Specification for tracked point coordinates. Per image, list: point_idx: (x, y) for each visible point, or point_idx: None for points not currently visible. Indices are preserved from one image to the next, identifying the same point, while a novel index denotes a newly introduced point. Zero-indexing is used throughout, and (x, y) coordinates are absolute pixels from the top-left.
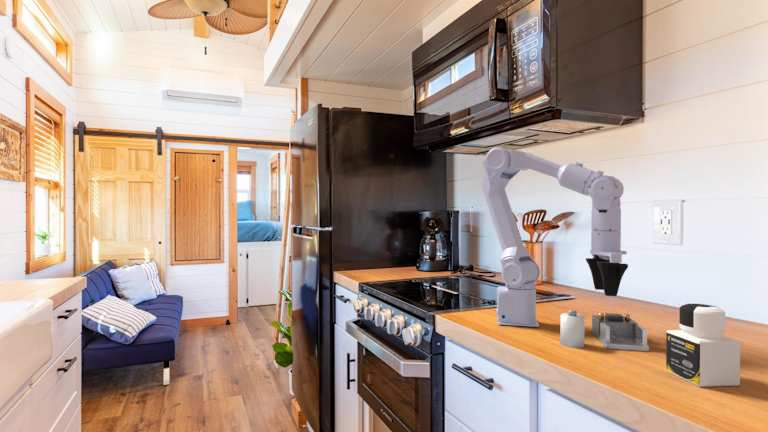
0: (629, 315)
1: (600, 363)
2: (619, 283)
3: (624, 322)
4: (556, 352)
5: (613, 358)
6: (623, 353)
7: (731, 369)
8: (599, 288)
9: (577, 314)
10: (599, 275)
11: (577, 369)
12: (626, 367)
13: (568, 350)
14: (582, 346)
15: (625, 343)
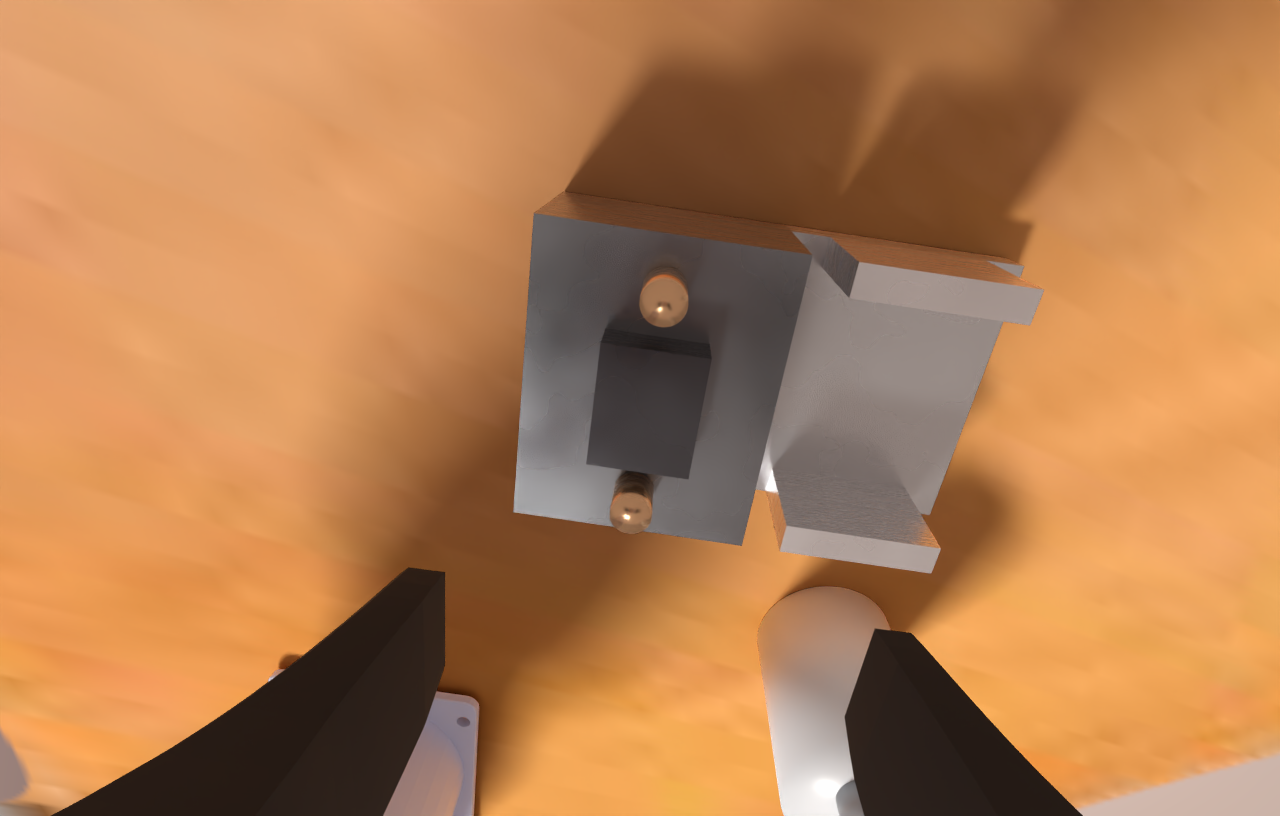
0: (686, 290)
1: (1167, 626)
2: (1036, 774)
3: (770, 362)
4: None
5: (1103, 536)
6: (1022, 443)
7: None
8: (439, 644)
9: (830, 759)
10: (345, 811)
11: (1221, 741)
12: (1261, 536)
13: None
14: (881, 612)
15: (936, 398)
